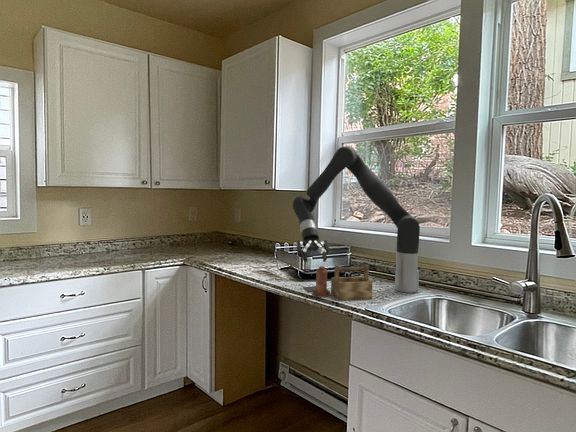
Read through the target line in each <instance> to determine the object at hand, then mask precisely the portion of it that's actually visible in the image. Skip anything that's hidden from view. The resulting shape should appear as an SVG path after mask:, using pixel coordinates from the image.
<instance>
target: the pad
mask: <svg viewBox="0 0 576 432" xmlns="http://www.w3.org/2000/svg"><path fill="white" fill-rule="evenodd" d="M302 289H304V291H306V293H312V290H316V285H314V286H302Z"/></svg>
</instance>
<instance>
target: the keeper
mask: <svg viewBox="0 0 576 432" xmlns="http://www.w3.org/2000/svg"><path fill="white" fill-rule="evenodd" d="M311 295H312V296H313V297H314V298H319V297H318V292H317V291H316V290H312V292H311ZM326 297H328V298H329V297H331V290H329V289H328V288H327V294H326Z"/></svg>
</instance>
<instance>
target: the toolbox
mask: <svg viewBox="0 0 576 432" xmlns="http://www.w3.org/2000/svg"><path fill="white" fill-rule="evenodd" d="M359 271H360V272H361V271H363V276H344V277H343V276H342V277H341V276H340V272H359ZM369 271H370V265H369V264H364V266H340V265H338V264H335V265H334V276H333V277H330V280H331V281H330V295H332V296H333V297H335V298H336V299H337V300H338V301H353V300H354V301H355V300H357V301H358V300H372V299H373V281H372V280H369V278H370V277H369V276H370V273H369Z"/></svg>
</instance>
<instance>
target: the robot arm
mask: <svg viewBox="0 0 576 432" xmlns="http://www.w3.org/2000/svg"><path fill="white" fill-rule="evenodd" d="M344 169H347V170H348V171H349V172H351V174H352V175H353V176H354V177H355V178H356V180H357V182H358V183H359V185H360V187H361V189H362V191H363V192H364V194H365V195H366V196H367V197H368V198H369V199H370V201H372V203H373V204H374V205H375V206H377V207H378V208H379V210H381V211H382V212H384V214H386V215H387V216H388V218H389V219H390V221H392V223H393V224H394V225H395V226H396V228H397V230H396V231H397V233H396V235H397V236H396V255H395V256H396V257H395V274H394V275H395V276H394V277H395V278H394V279H395V281H394V290H395V291H397V292H400V293H401V292H402V293H407V294H408V293H411V294H412V293H416V292H419V284H420V283H419V281H420V270H419V269H418V264H419V263H418V262H419V260H418V259H419V247H420V229H421V228H420V222H419V221H418V220H417V219H416V218H415V217H413V215H412V214H410V213H409V212H408V211H407V210H406V209H405V208H404V207H403V206H402V204H400V203H399V201H398V200H397V198H396V196H395V195H394V194H393V192H392V191H391V189H390V188H389V187H388V186H387V185H386V184H385V183H384V182H383V180H382V179H381V178H380V177H379V176H378V175H377V174H376V173H375V172H373V170H372V169H371V168H370V167H369V166H368V165H367V164H366V163H365V161H364V160H363V159H362V157H361V156H360V155H359V153H358V152H357V150H356V149H355V148H353V147H352V146H349V145H348V146H347V145H346V146H341V147H339V148H337V150H336V151H335V153H334V154H333V156H332V158H331V159H330V162H329V163H328V164H327V166H326V167H325V169H324V170H323V171H322V172H321V174H320V175H319V176H318V177H317V178H316V179H315V180H314V181H313V182H312V184H311V185H310V186H309V188H307V190H306V194H307V196H308V199H307V198H305V197H303V196H296V197H295V198H294V199H293V201H292V209H293V211H294V213H295V216H296V217H297V219H298V223H299V228H300V229H299V230H300V234H301V241H300V240H299V239H298V240H297V242H296V244H295V245H296V252H297V254H298V255H301V257H302V260H303V261H304V263H307V261H308V256H307V251H309V252H311V251H313V252H318V253H320V254H321V256H322V262H324V263H325V262H326V261H327V260H328V254H329V252H330V247H329V244H328V241H327V240H326V239H325V240H324V241H321V240H320V237H319V232H318V229H317V225H316V222H315V219H314V215H313V212H314V209H315V207H316V205H317V203H318V201H319V200H320V198H321V197H322V196H323V195H324V194H325V192H326V191H327V190H328V189H329V187H330V186H331V185H332V183H333V182H334V180H335V178H336V177H337V176H338V175H339V174H340V173H341V172H342V171H344ZM302 246H303V247H304V248H303V249H302Z"/></svg>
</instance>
